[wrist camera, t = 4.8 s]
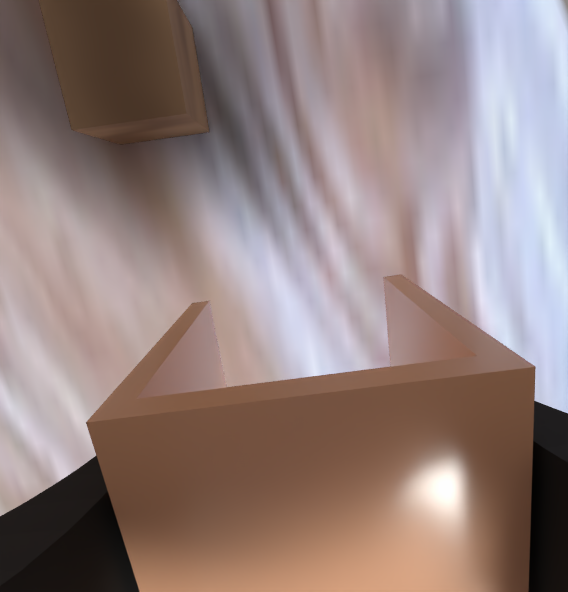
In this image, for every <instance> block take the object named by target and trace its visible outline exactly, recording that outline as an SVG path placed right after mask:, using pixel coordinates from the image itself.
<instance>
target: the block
mask: <svg viewBox="0 0 568 592" xmlns="http://www.w3.org/2000/svg"><path fill="white" fill-rule="evenodd" d="M39 4H40V8H41V12H42V16H43V20H44V24H45V28H46V32H47V35H48V39H49V43H50V47H51V51H52V55H53V59H54V63H55V67H56V71H57V75H58V79H59V83H60V86H61V90H62V94H63V98H64V102H65V106H66V110H67V114H68V118H69V122H70V126H71V130H74V131H77V132H80V133H84V134H87V135H90V136H94V137H97V138H100V139H104V140H107V141H110V142H114V143H117V144H120V145H121V144H128V143H135V142H143V141H150V140H157V139H164V138H171V137H178V136H186V135H193V134H200V133H207V132H209V126H208V120H207V114H206V108H205V102H204V96H203V90H202V84H201V78H200V72H199V66H198V60H197V54H196V48H195V42H194V36H193V30H192V27H191V25H190V23H189V21H188V20H187V18H186V16H185V14H184V12H183V11H182V9H181V7H180V5H179V4H178V2H177V0H39Z"/></svg>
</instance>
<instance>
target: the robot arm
mask: <svg viewBox="0 0 568 592" xmlns="http://www.w3.org/2000/svg"><path fill="white" fill-rule="evenodd" d="M0 592H140V591H139V588H138V585H137V582H136V578H135V575H134V572H133V569H132V566H131V563H130V559H129V556H128V553H127V550H126V547H125V544H124V541H123V537H122V534H121V531H120V528H119V525H118V522H117V518H116V515H115V512H114V509H113V506H112V503H111V499H110V496H109V493H108V490H107V487H106V484H105V481H104V477H103V474H102V471H101V468H100V465H99V462H98V458H97V456H95V457H94V458H92V459H91V460H90V461H88V462H87V463H86V464H84V465H83V466H81V467H80V468H79V469H77V470H76V471H74V472H73V473H71V474H70V475H68V476H67V477H65V478H64V479H62V480H61V481H59V482H58V483H56V484H55V485H53V486H51V487H50V488H48V489H46V490H45V491H43V492H42V493H40V494H38V495H37V496H35V497H33V498H32V499H30V500H29V501H27V502H25V503H23V504H22V505H20V506H18V507H17V508H15V509H13V510H11V511H9V512H7V513H6V514H4V515H2V516H0ZM529 592H568V413H565V412H562V411H560V410H557V409H554V408H552V407H549V406H546V405H544V404H541V403H539V402H536V401H534V428H533V461H532V493H531V526H530V559H529Z"/></svg>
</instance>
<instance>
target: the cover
mask: <svg viewBox="0 0 568 592" xmlns="http://www.w3.org/2000/svg"><path fill="white" fill-rule="evenodd" d="M383 278H384V291H385V304H386V317H387V330H388V343H389V356H390V367H384V368H376V369H368V370H360V371H352V372H345V373H337V374H329V375H321V376H313V377H305V378H297V379H289V380H281V381H273V382H265V383H257V384H250V385H242V386H234V387H227V386H226V381H225V376H224V371H223V366H222V361H221V356H220V351H219V346H218V341H217V336H216V331H215V326H214V321H213V316H212V311H211V307H210V302H209V301H204V302H197V303H192V304H191V305H190V306H189V307H188V309H187V310H186V311H185V312H184V313H183V314H182V315H181V316H180V318H179V319H178V320H177V321H176V322H175V323H174V324H173V325H172V327H171V328H170V329H169V330H168V331H167V332H166V333H165V334H164V336H163V337H162V338H161V339H160V340H159V341H158V342H157V343H156V345H155V346H154V347H153V348H152V349H151V350H150V351H149V352H148V354H147V355H146V356H145V357H144V358H143V359H142V360H141V361H140V363H139V364H138V365H137V366H136V367H135V368H134V369H133V370H132V372H131V373H130V374H129V375H128V376H127V377H126V378H125V379H124V380H123V382H122V383H121V384H120V385H119V386H118V387H117V388H116V389H115V391H114V392H113V393H112V394H111V395H110V396H109V397H108V398H107V400H106V401H105V402H104V403H103V404H102V405H101V406H100V407H99V409H98V410H97V411H96V412H95V413H94V414H93V415H92V416H91V418H90V419H89V420H88V421H87V422H86V424H87V427H88V430H89V433H90V436H91V439H92V443H93V446H94V449H95V452H96V455H97V458H98V462H99V465H100V468H101V471H102V474H103V477H104V481H105V484H106V487H107V490H108V493H109V496H110V499H111V503H112V506H113V509H114V512H115V515H116V518H117V522H118V525H119V528H120V531H121V534H122V537H123V541H124V544H125V547H126V550H127V553H128V556H129V559H130V563H131V566H132V569H133V572H134V575H135V578H136V582H137V585H138V588H139V591H140V592H529V559H530V526H531V493H532V461H533V428H534V395H535V366H534V365H532V364H531V363H529V362H528V361H526V360H525V359H523V358H522V357H520V356H519V355H518V354H516V353H515V352H513V351H512V350H510V349H509V348H507V347H506V346H504V345H503V344H502V343H500V342H499V341H497V340H496V339H494V338H493V337H491V336H490V335H488V334H487V333H486V332H484V331H483V330H481V329H480V328H478V327H477V326H475V325H474V324H472V323H471V322H470V321H468V320H467V319H465V318H464V317H462V316H461V315H459V314H458V313H457V312H455V311H454V310H452V309H451V308H449V307H448V306H446V305H445V304H443V303H442V302H441V301H439V300H438V299H436V298H435V297H433V296H432V295H430V294H429V293H427V292H426V291H425V290H423V289H422V288H420V287H419V286H417V285H416V284H414V283H413V282H411V281H410V280H409V279H407V278H406V277H404V276H403V275H394V276H387V277H383Z"/></svg>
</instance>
